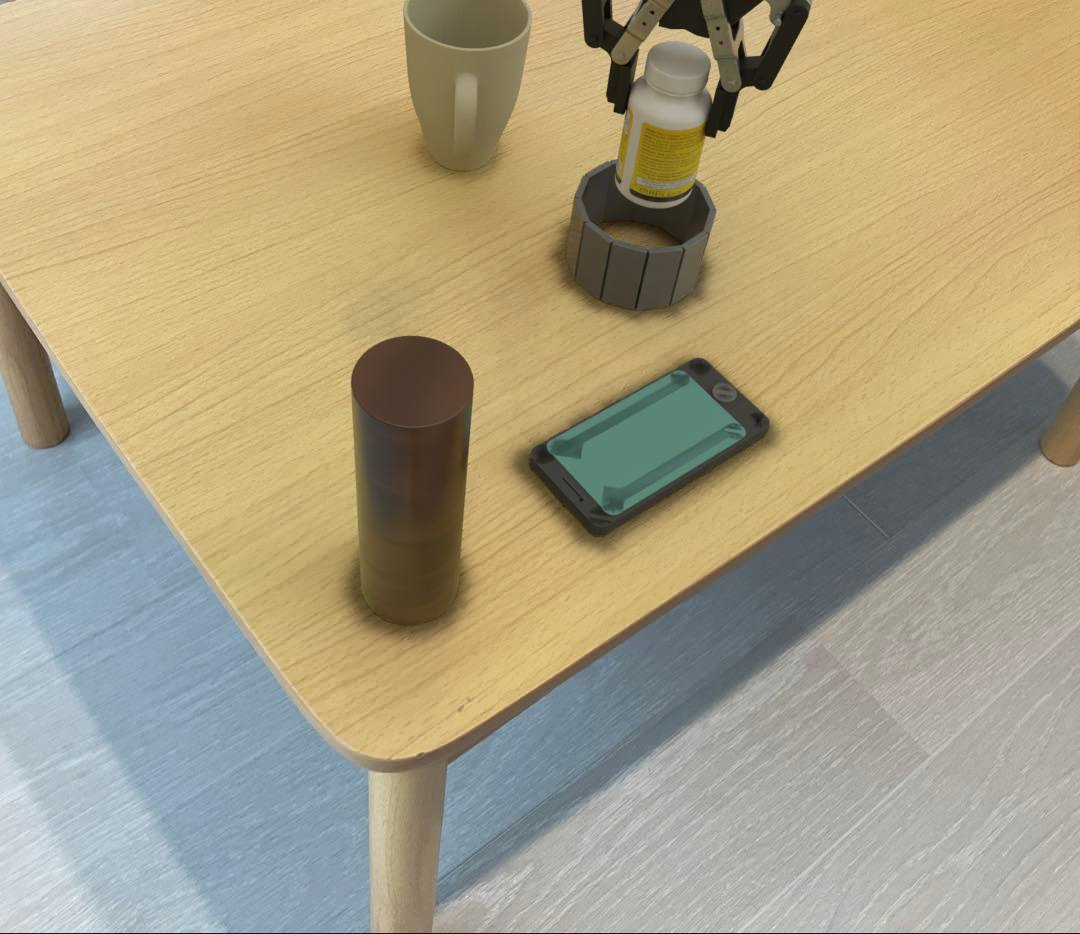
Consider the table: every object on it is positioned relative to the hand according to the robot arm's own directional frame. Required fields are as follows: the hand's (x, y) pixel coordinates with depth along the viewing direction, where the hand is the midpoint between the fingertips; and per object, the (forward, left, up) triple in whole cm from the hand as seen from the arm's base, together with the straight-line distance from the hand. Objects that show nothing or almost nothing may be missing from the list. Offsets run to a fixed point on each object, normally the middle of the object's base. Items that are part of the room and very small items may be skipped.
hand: (667, 117), depth 76 cm
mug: (+15, -6, -13) cm, 21 cm away
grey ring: (0, 0, -13) cm, 13 cm away
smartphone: (-5, +16, -13) cm, 21 cm away
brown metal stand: (+6, +31, -13) cm, 34 cm away
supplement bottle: (0, 0, -6) cm, 6 cm away
